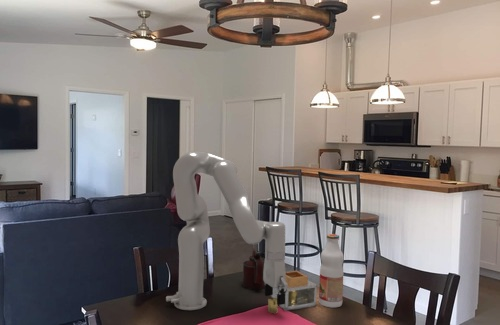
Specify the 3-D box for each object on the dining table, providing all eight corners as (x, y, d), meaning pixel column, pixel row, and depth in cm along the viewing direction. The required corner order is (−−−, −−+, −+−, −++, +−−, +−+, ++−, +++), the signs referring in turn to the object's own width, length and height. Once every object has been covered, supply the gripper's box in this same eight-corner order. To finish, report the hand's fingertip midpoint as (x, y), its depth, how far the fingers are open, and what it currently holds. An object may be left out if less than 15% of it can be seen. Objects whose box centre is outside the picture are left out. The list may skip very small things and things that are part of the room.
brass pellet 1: (270, 314, 150) (271, 301, 149) (266, 310, 153) (266, 298, 153) (279, 313, 151) (279, 300, 151) (274, 309, 154) (275, 296, 154)
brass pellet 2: (290, 303, 160) (290, 291, 159) (286, 299, 163) (287, 287, 163) (298, 302, 161) (299, 290, 160) (295, 298, 164) (295, 287, 164)
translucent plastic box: (285, 310, 153) (286, 281, 153) (270, 299, 164) (271, 272, 164) (316, 305, 159) (317, 277, 159) (299, 295, 170) (300, 268, 170)
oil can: (271, 292, 172) (273, 235, 171) (246, 293, 170) (248, 235, 169) (257, 272, 200) (259, 222, 199) (236, 273, 198) (237, 223, 197)
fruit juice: (337, 310, 156) (340, 238, 154) (315, 304, 161) (317, 235, 160) (345, 302, 163) (348, 234, 162) (324, 297, 169) (326, 231, 167)
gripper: (256, 250, 157) (256, 293, 158) (277, 262, 142) (277, 309, 142) (273, 248, 161) (272, 290, 161) (295, 259, 145) (295, 306, 145)
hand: (274, 299), depth 152 cm, fingers open, 9 cm apart
